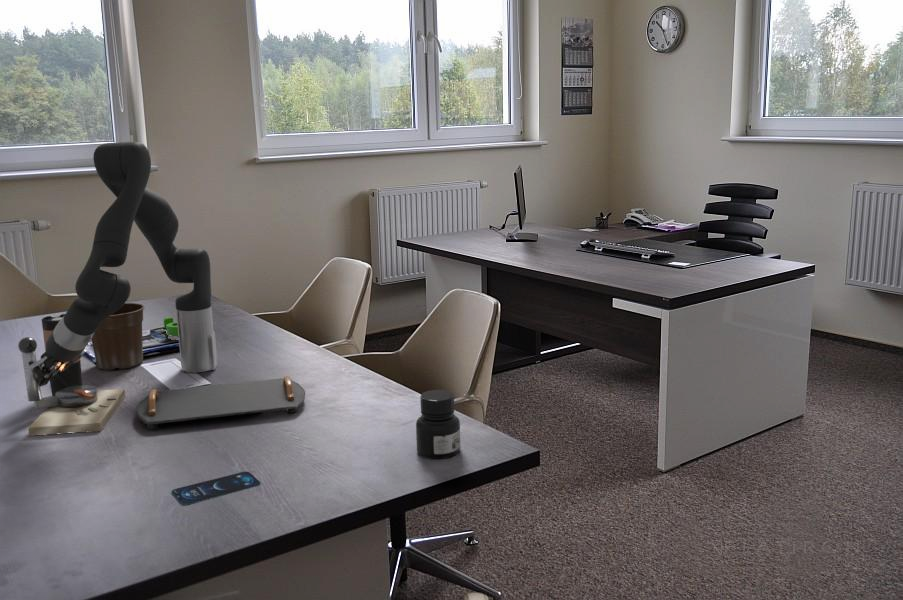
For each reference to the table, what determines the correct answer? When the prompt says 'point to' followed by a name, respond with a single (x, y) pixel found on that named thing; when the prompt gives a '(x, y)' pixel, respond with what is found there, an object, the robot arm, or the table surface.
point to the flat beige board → (79, 415)
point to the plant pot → (120, 338)
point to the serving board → (220, 401)
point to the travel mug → (70, 374)
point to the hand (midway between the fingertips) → (40, 382)
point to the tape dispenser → (171, 326)
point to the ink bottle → (437, 425)
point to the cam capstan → (63, 397)
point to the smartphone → (215, 487)
